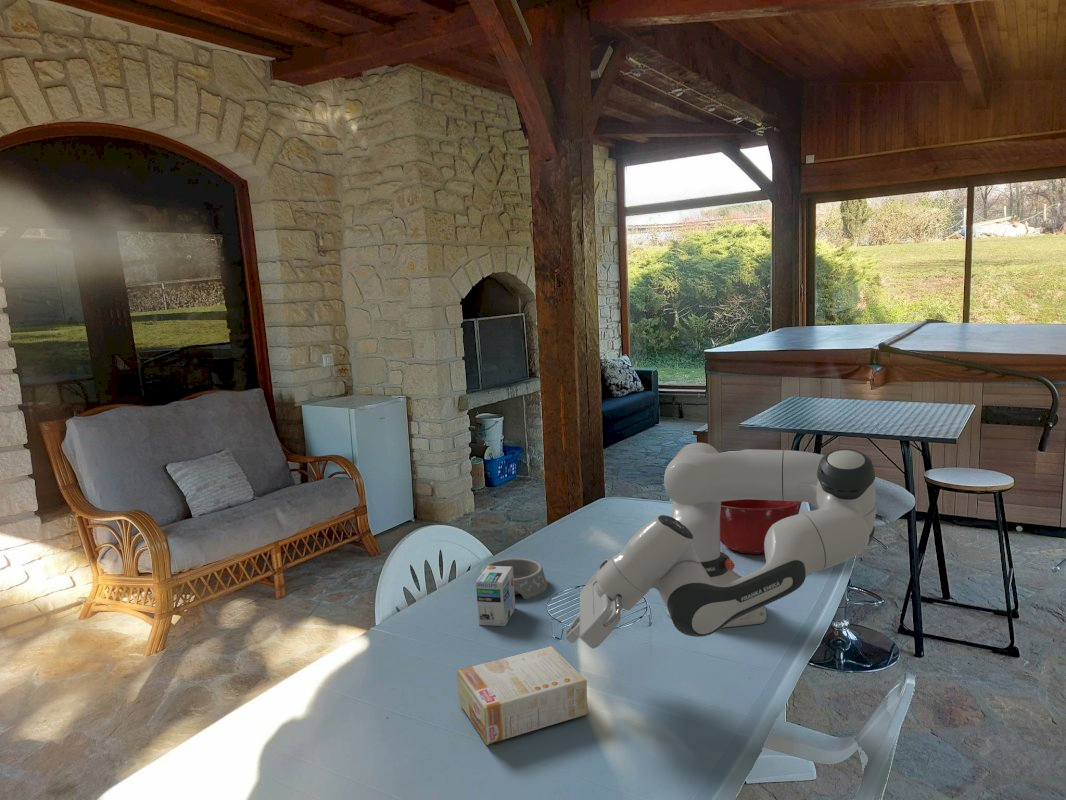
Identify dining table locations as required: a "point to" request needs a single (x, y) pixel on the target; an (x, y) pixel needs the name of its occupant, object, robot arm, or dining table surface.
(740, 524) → the mixing bowl
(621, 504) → the dining table surface
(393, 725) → the dining table surface
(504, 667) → the coffeecake box
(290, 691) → the dining table surface
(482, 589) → the light bulb box
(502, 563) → the dog bowl
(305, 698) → the dining table surface
